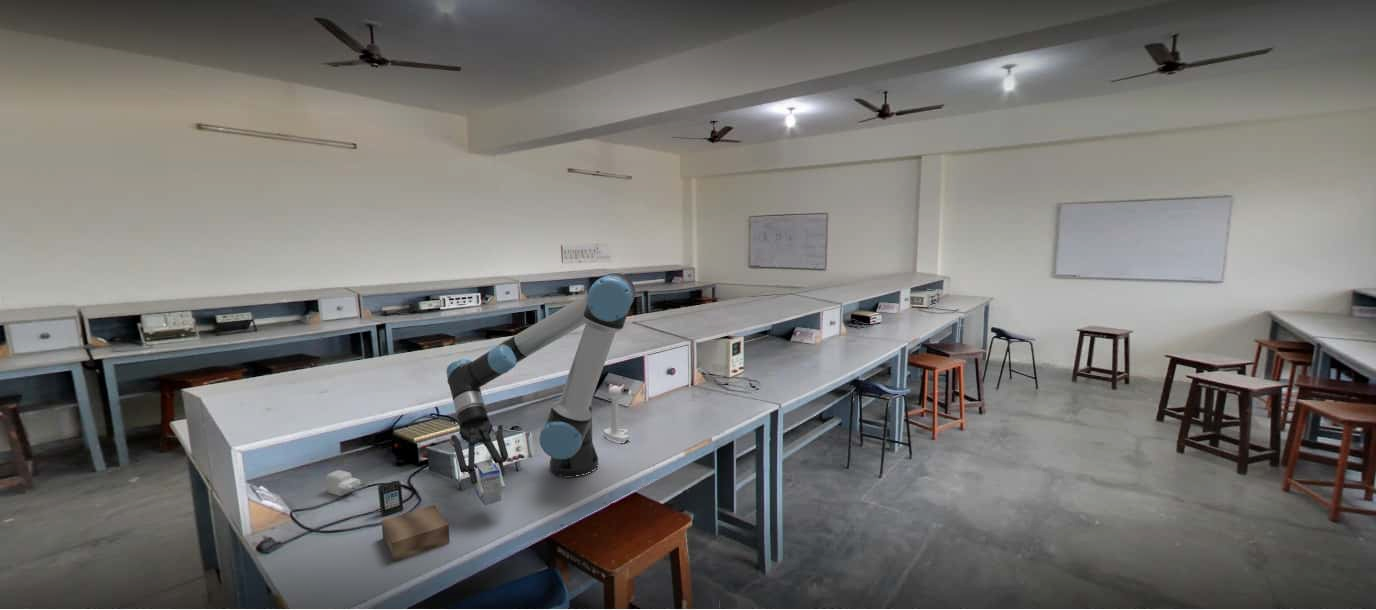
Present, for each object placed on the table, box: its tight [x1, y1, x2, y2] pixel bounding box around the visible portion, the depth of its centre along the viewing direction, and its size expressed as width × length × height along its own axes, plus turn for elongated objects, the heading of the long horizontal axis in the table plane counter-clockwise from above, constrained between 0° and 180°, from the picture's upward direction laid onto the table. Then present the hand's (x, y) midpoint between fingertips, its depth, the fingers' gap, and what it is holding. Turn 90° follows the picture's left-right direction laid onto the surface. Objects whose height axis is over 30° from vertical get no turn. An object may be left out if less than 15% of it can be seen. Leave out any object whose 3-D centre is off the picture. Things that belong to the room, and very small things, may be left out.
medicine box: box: [474, 459, 502, 506], centre depth 138 cm, size 8×4×9 cm, turn 37°
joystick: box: [602, 385, 631, 442], centre depth 191 cm, size 11×8×20 cm
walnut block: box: [381, 504, 451, 563], centre depth 128 cm, size 12×12×5 cm
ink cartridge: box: [377, 479, 404, 517], centre depth 140 cm, size 5×2×8 cm, turn 131°
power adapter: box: [326, 469, 366, 497], centre depth 150 cm, size 11×5×6 cm, turn 69°
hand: (492, 491), depth 135 cm, fingers closed on medicine box, 4 cm apart
